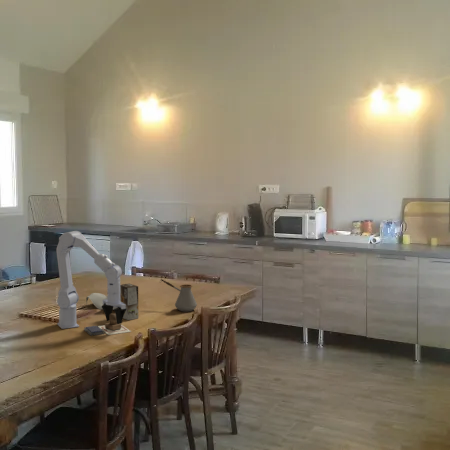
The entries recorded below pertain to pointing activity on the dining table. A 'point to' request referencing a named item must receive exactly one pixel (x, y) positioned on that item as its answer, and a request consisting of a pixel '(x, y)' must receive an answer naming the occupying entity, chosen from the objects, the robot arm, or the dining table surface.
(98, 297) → the sculpture
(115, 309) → the robot arm
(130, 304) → the coffee box
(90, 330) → the ink pad
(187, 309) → the coffee pot
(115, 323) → the stamp
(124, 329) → the sheet
